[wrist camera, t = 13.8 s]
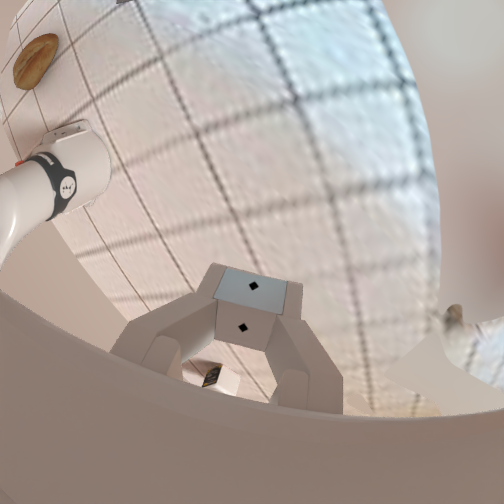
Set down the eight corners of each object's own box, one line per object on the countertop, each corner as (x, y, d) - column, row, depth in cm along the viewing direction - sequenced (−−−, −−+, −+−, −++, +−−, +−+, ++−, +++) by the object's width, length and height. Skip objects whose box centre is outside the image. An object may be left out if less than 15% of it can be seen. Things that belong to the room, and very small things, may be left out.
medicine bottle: (222, 363, 71) (210, 399, 61) (241, 375, 72) (231, 411, 62) (207, 369, 74) (195, 403, 64) (226, 381, 76) (215, 414, 66)
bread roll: (70, 47, 32) (41, 48, 26) (38, 98, 39) (12, 105, 32) (55, 25, 29) (28, 25, 22) (26, 75, 36) (1, 80, 29)
